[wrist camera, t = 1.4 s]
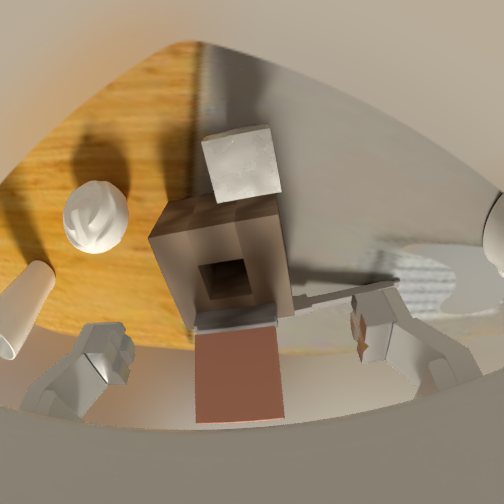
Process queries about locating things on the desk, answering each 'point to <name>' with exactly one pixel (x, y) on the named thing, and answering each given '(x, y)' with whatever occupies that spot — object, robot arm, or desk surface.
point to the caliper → (334, 297)
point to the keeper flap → (238, 376)
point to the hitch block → (224, 262)
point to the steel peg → (242, 163)
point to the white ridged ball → (95, 216)
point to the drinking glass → (23, 306)
